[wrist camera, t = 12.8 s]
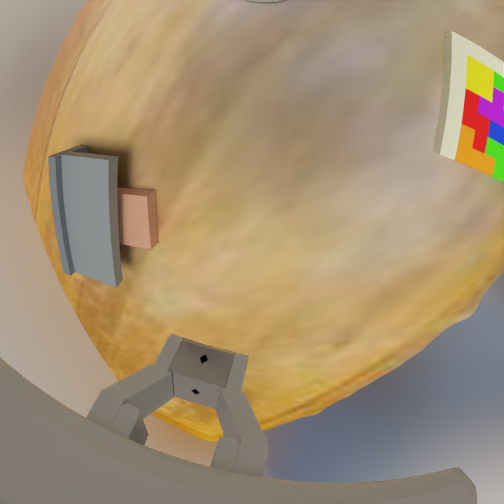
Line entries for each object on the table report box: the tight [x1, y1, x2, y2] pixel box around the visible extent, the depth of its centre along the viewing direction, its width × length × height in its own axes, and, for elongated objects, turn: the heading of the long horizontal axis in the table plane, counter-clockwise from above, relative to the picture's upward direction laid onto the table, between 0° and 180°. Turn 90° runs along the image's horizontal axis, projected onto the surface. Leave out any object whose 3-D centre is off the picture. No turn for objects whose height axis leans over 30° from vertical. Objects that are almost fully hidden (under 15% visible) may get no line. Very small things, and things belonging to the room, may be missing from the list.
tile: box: [117, 187, 158, 250], centre depth 46 cm, size 10×14×4 cm
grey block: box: [48, 145, 123, 287], centre depth 44 cm, size 24×13×9 cm, turn 169°
